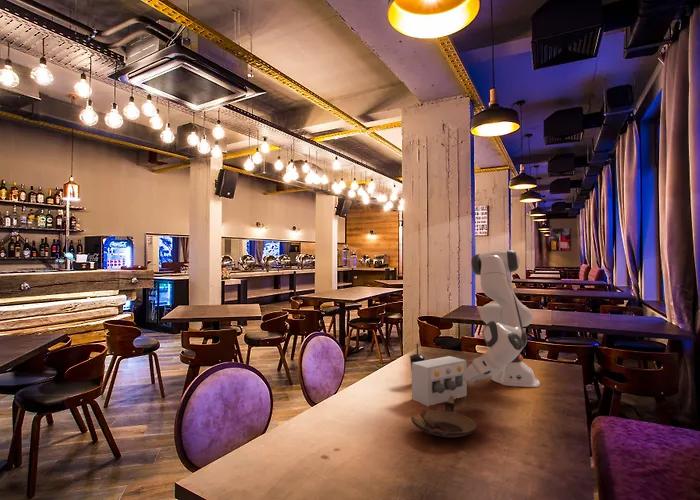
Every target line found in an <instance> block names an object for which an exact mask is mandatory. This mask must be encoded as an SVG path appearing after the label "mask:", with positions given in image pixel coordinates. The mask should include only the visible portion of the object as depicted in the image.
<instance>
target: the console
mask: <svg viewBox="0 0 700 500" xmlns="http://www.w3.org/2000/svg"><path fill="white" fill-rule="evenodd" d="M466 369H467V359H462V358H458V357H454V356H451V355H447V356H443V357H437V358H432V359H426V360H424V361H419V362H413V363H412V371H411V400H412V399H413V401H414V402H418V403H419V402H420V404H422V405H424V406H426V407H430V405H431V406H434V405H438V404H443V403H445V402H447V401H448V400H449V398H450V396H453V397H454V400H456V398H457V399H459V398H463V397H464V398H465V397H467V395H468V393H467V390H468V389H467V388H468V386H467V385H468V384H467V383H468V382H466V380H465V379H464V377H463V372H464V371H465V370H466ZM456 376H458V377H461V379H462V383H461V385H460V386H456V388H455V390H453V391H452V390H449V389H446V388H445V390H444V392H443V393H438V392H435V391H434V390H433V385H434V383H435V382H439V383H442V384H444V386H445V381H446V380H448V379H449V380H452V381H455V377H456Z"/></svg>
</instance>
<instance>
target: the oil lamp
mask: <svg viewBox="0 0 700 500" xmlns="http://www.w3.org/2000/svg"><path fill="white" fill-rule="evenodd" d="M454 409H455V399H454V397H453V396H450V398H449V400H448V401H446V402H444V409H442V410H441V409H440V410H438V409H425V410H423V411H422V412H421V413H419V415H420V417H421V419H423V421H424V422H425V423H426V424H427V425H426V424H424V423H423V422H421V421H420V420H418V419H417V418H416V417H414V416H413V415H412V416H411V418H410V419H411V421H412V422H411V423H412V424H413V425H415V426H416V427H417V428H418V429H420V430H421V431H422V432H425V433H427V434H430V435H432V436H437V437H441V438H447V439H448V438H449V439H450V438H459V437H464V436H468V435H470V434H473V433H474V432H476V431H477V430H478V423H477V422H476V420H474V419H472V418H471V417H469V416H467V415H464V414H462V413H459V412H455V410H454ZM436 427H438V428H439V429H441V430H443V431H441V430H437V429H435V428H436Z"/></svg>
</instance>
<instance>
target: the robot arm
mask: <svg viewBox="0 0 700 500" xmlns="http://www.w3.org/2000/svg"><path fill="white" fill-rule="evenodd" d="M520 263H521V262H520V256H519V254H518V253H517V252H516V251H515V250H512V249H507V250H493V251H489V252H483V253H477V254H474V255H473V256H472V257H471V260H470V267H471V271H472V272H473V273H474V274H475V275H477V276H480V287H481V290H482V292H483V293H484V294H485V296H486V297H488V298H489V299H491V300H492V301H493V302H495V303H487V304H484V305H483V306H482V307H481V309H480V314H479V315H480V318H481V320H482V321H483V323H485V324H486V325H484V327H483V329H482V331H481V335H482V337H483V340H484V341H485V342H484V343H486V344H485V345H486V346H487V347H488V348H489V349H488V350H487V351H485V353H484V354H482V355H481V356H478V357H475V358H474V359H473V360H472V363H471V364H470V365H469V366H467V367H466V370H465V371H464V372H463V377H464V379H465V380H466V382H467V383H469V382H470V383H471V384H475V383H478V382H479V381H481V380H483V379H486V378H491V380H492V381H493V382H496V383H498V384H500V385H503V386H506V387H507V386H510V387H526V388H539V387H540V385H541V382H540V380H539V379H538V378H536V376H535V373H534V371H533V369H532V368H531V367H530V366H529V365H527V364H526V363H525V362H523V360H524V357H523V356H522V354H521V352H522V350H523V349H524V348H525V347H526V345H527V343H528V337H527V333H526V331H525V329H524V327H528V326H529V325H530V324H531V323H532V321H533V313H532V311H531V310H530V308H529V307H527V306H526V305H524V304H523V303H522V302H521V301H520V300H519V299H518V297H517V296H516V294H515V291H514V287H513V281H512V276H511V273H513V272H516V271H518V270H519V267H520Z"/></svg>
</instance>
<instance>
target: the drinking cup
mask: <svg viewBox="0 0 700 500" xmlns="http://www.w3.org/2000/svg"><path fill="white" fill-rule="evenodd" d="M409 358H410V367H411V368H410V370H411V372H412V363H413V362H419V361H424V360H425V359H426V356H425V355H423V354H421V353H420V354H419V343H416V353H413V354H412V355H409Z"/></svg>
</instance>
